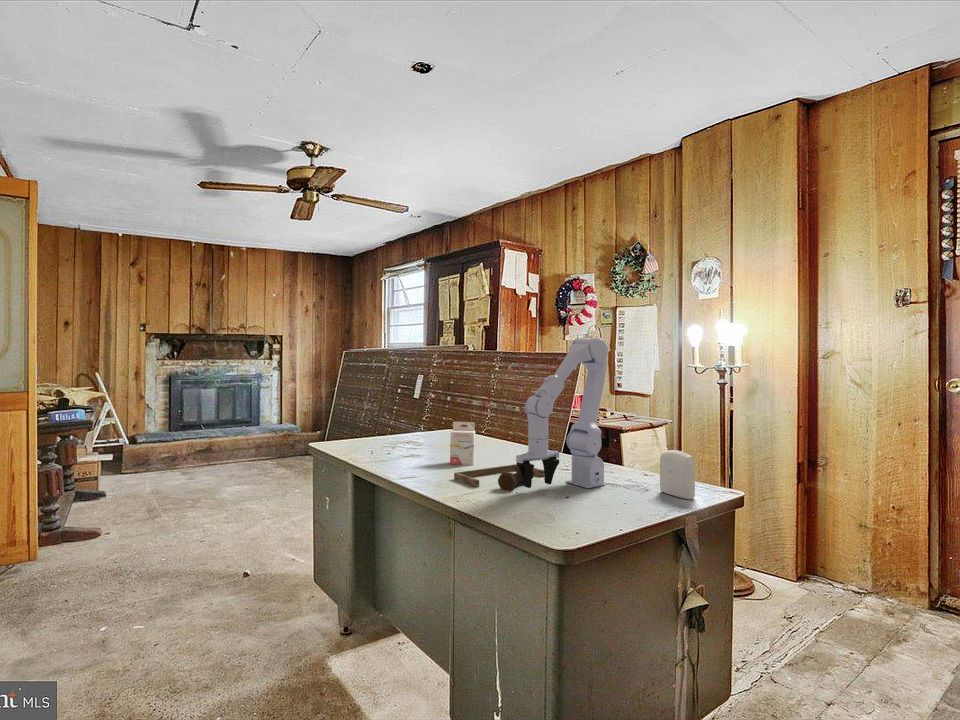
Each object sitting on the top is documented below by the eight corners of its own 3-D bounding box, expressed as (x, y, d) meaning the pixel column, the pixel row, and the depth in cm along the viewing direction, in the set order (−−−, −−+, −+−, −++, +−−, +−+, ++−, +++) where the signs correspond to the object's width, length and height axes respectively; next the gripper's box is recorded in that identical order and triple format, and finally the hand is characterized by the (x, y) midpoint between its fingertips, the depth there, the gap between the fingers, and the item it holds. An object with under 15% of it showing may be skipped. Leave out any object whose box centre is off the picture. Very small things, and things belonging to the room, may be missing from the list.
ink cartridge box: (449, 464, 188) (449, 423, 188) (451, 462, 193) (452, 421, 193) (473, 465, 187) (474, 423, 187) (475, 462, 192) (475, 421, 192)
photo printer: (657, 491, 151) (657, 448, 151) (668, 490, 153) (668, 447, 153) (685, 500, 142) (686, 454, 142) (697, 498, 144) (697, 453, 144)
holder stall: (544, 476, 170) (544, 470, 170) (476, 487, 155) (476, 480, 155) (519, 469, 180) (519, 463, 180) (454, 479, 166) (454, 472, 166)
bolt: (531, 486, 165) (507, 495, 152) (519, 476, 167) (494, 484, 154) (540, 471, 163) (516, 479, 150) (527, 461, 165) (503, 468, 153)
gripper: (548, 434, 160) (547, 479, 160) (509, 438, 151) (509, 485, 152) (564, 437, 154) (564, 484, 154) (525, 441, 146) (524, 491, 146)
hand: (538, 485), depth 152 cm, fingers open, 7 cm apart
